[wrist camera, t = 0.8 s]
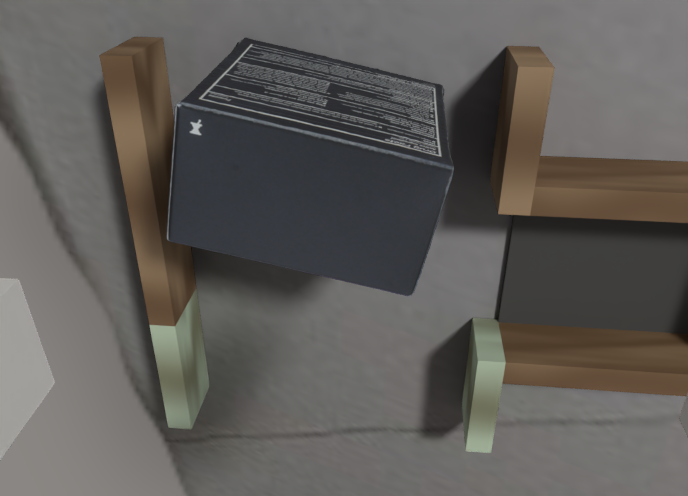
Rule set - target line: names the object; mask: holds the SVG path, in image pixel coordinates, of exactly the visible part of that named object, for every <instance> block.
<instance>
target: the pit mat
mask: <svg viewBox="0 0 688 496" xmlns="http://www.w3.org/2000/svg"><path fill="white" fill-rule="evenodd" d="M498 322H501V323H517V324H533V325H549V326H566V327H582V328H598V329H615V330H631V331H647V332H663V333H680V334H688V223H676V222H655V221H634V220H613V219H591V218H570V217H549V216H527V215H514V216H513V222H512V229H511V235H510V242H509V249H508V255H507V262H506V269H505V275H504V282H503V288H502V295H501V302H500V308H499V315H498Z"/></svg>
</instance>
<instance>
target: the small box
mask: <svg viewBox="0 0 688 496" xmlns="http://www.w3.org/2000/svg"><path fill="white" fill-rule="evenodd" d="M443 96H444V88H443V86H442V85H439V84H434V83H430V82H426V81H422V80H418V79H414V78H411V77H406V76H402V75H398V74H394V73H389V72H386V71H382V70H379V69H373V68H369V67H365V66H361V65H357V64H353V63H348V62H344V61H340V60H336V59H332V58H328V57H325V56H321V55H316V54H313V53H307V52H303V51H299V50H296V49H291V48H287V47H283V46H278V45H274V44H269V43H265V42H260V41H256V40H252V39H248V38H244V39H243V40H241V41H240V42H238V43H237V45H236V48H235V49H234V50H233V51H232V52H231V53H230V54H229V55H228V56H227V57H226V58H225V59H224V60H223V61H222V62H221V63H220V64H219V65H218V66H217V67H216V68H215V69H214V70H213V71H212V72H211V73H210V74H209V75H208V76H207V77H206V78H205V79H204V80H203V81H202V82H201V83H200V84H199V85H198V86H197V87H196V88H195V89H194V90H193V91H192V92H191V93H190V94H189V95H188V96H187V97H186V98H185V99H183V100H181V101H179V102H178V103H177V104H176V105H175V116H174V134H173V148H172V159H171V178H170V190H169V207H168V218H167V219H168V223H167V240H168V241H170V242H174V243H179V244H183V245H187V246H192V247H196V248H200V249H205V250H209V251H213V252H218V253H222V254H227V255H232V256H236V257H240V258H245V259H249V260H254V261H258V262H262V263H267V264H271V265H276V266H280V267H284V268H289V269H293V270H298V271H302V272H306V273H310V274H315V275H319V276H323V277H328V278H332V279H336V280H341V281H345V282H350V283H354V284H358V285H362V286H367V287H371V288H375V289H380V290H384V291H388V292H392V293H396V294H401V295H405V296H411V295H412V294H413V293H414V291H415V288H416V286H417V283H418V280H419V278H420V275H421V272H422V269H423V266H424V263H425V259H426V257H427V254H428V251H429V248H430V245H431V242H432V238H433V235H434V232H435V229H436V226H437V223H438V220H439V217H440V214H441V211H442V208H443V204H444V201H445V198H446V195H447V192H448V189H449V185H450V182H451V180H452V177H453V172H454V166H453V161H452V159H451V157H450V156H451V155H450V150H449V141H448V131H447V125H446V116H445V110H444V109H445V107H444V101H443V99H444V98H443Z"/></svg>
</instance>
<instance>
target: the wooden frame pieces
mask: <svg viewBox="0 0 688 496" xmlns="http://www.w3.org/2000/svg"><path fill="white" fill-rule="evenodd" d="M99 56H100V61H101V66H102V72H103V77H104V83H105V88H106V93H107V99H108V104H109V109H110V115H111V120H112V126H113V131H114V136H115V142H116V147H117V153H118V158H119V163H120V169H121V174H122V180H123V185H124V190H125V196H126V201H127V207H128V212H129V217H130V223H131V228H132V234H133V239H134V244H135V250H136V255H137V261H138V266H139V271H140V277H141V282H142V288H143V293H144V298H145V304H146V309H147V315H148V320H149V325H150V331H151V336H152V342H153V347H154V352H155V358H156V363H157V369H158V374H159V379H160V385H161V390H162V396H163V401H164V406H165V412H166V417H167V423H168V428H181V429H192V427H193V425H194V422H195V420H196V418H197V415H198V413H199V410H200V408H201V406H202V403H203V401H204V398H205V396H206V394H207V391H208V389H209V386H210V384H209V377H208V370H207V362H206V355H205V347H204V340H203V332H202V325H201V318H200V310H199V303H198V295H197V288H196V281H195V273H194V266H193V258H192V251H191V246H187V245H183V244H179V243H174V242H170V241H168V240H167V223H168V219H167V218H168V207H169V190H170V178H171V159H172V148H173V134H174V117H173V110H172V102H171V95H170V88H169V80H168V73H167V65H166V58H165V51H164V43H163V38H154V37H133V38H131V39H129V40H127V41H125V42H124V43H122V44H120V45H118V46H116V47H114V48H112V49H110V50H108V51H107V52H105V53H103V54H101V55H99ZM554 68H555V67H554V66H553V65H552V63H551V62H550V61H549V59H548V58H547V57H546V55H545V54H544V53H543V52H542V50H541V49H540V48H539V47H525V46H507V50H506V58H505V66H504V74H503V82H502V90H501V97H500V105H499V113H498V121H497V129H496V137H495V145H494V153H493V161H492V169H491V176H490V183H491V187H492V191H493V195H494V199H495V203H496V207H497V212H498V214H506V215H527V216H549V217H570V218H591V219H613V220H634V221H655V222H676V223H688V162H681V161H656V160H630V159H604V158H579V157H553V156H540V153H541V147H542V140H543V134H544V128H545V122H546V116H547V110H548V104H549V98H550V92H551V86H552V80H553V74H554ZM502 383H504V384H518V385H532V386H547V387H561V388H575V389H590V390H604V391H619V392H633V393H647V394H662V395H676V396H687V394H688V334H680V333H663V332H647V331H631V330H615V329H598V328H582V327H566V326H549V325H533V324H517V323H501V322H498V319H483V318H473V319H472V327H471V334H470V342H469V350H468V358H467V366H466V374H465V382H464V390H463V398H462V414H463V426H464V438H465V450H466V451H471V452H484V453H491V449H492V443H493V436H494V430H495V424H496V418H497V412H498V406H499V400H500V394H501V388H502Z"/></svg>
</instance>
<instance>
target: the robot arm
mask: <svg viewBox="0 0 688 496" xmlns="http://www.w3.org/2000/svg"><path fill="white" fill-rule="evenodd" d="M54 384H55V381H54V378H53V375H52V372H51V369H50V367H49V364H48V361H47V359H46V355H45V353H44V350H43V347H42V344H41V341H40V338H39V335H38V333H37V330H36V327H35V324H34V321H33V319H32V315H31V313H30V310H29V307H28V304H27V301H26V298H25V296H24V293H23V290H22V287H21V284H20V281H19V279H6V278H0V460H1V459H2V457H3V456H4V454H5V453H6V451H7V450H8V449H9V447H10V446H11V444H12V443H13V442H14V440H15V439H16V437H17V436H18V435H19V433H20V432H21V430H22V429H23V428H24V426H25V425H26V423H27V422H28V420H29V419H30V418H31V416H32V415H33V413H34V412H35V411H36V409H37V408H38V406H39V405H40V403H41V402H42V401H43V399H44V398H45V396H46V395H47V394H48V392H49V391H50V389H51V388H52V386H53V385H54ZM679 419H680V421H681V424H682V426H683V428H684V430H685V432H686V435H687V437H688V394H687V397H686V400H685V402H684V405H683V408H682V411H681V414H680V417H679Z"/></svg>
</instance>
